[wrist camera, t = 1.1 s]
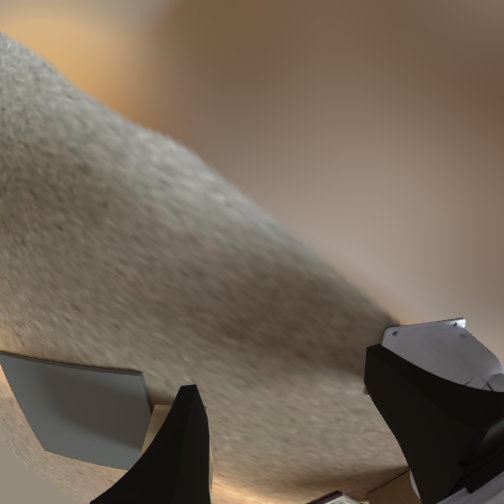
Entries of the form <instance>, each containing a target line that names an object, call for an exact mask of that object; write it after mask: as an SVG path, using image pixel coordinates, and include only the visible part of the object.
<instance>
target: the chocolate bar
mask: <svg viewBox="0 0 504 504" xmlns="http://www.w3.org/2000/svg"><path fill="white" fill-rule="evenodd" d="M309 504H363V503H361V502H359V501H357V500H355V499H353V498H351V497H349V496H347V495H345V494H343V493H342V492H340V491H336V492H334V493H331V494H329V495H327V496H325V497H323V498H320V499H318V500H316V501H314V502H311V503H309Z"/></svg>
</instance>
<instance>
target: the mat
mask: <svg viewBox="0 0 504 504" xmlns="http://www.w3.org/2000/svg"><path fill="white" fill-rule="evenodd" d="M0 364H1V366H2V369H3V371H4V373H5V376H6V378H7V380H8V383H9V385H10V387H11V389H12V391H13V393H14V396H15V398H16V400H17V402H18V404H19V406H20V408H21V410H22V412H23V413H24V415H25V417H26V419H27V421H28V423H29V425H30V426H31V428H32V430H33V432H34V433H35V435H36V437H37V438H38V440H39V442H40V443H41V445H42V447H43V448H44V450H45V451H48V452H51V453H54V454H58V455H61V456H65V457H68V458H72V459H76V460H80V461H84V462H88V463H93V464H97V465H102V466H107V467H112V468H117V469H123V470H130V469H131V468H132V466H133V465H134V464H135V463H136V462H137V461H138V459H139V458H140V454H141V451H142V447H143V444H144V440H145V437H146V433H147V430H148V427H149V423H150V420H151V416H152V410H151V406H150V402H149V398H148V394H147V390H146V386H145V382H144V378H143V373H142V372H135V371H123V370H112V369H103V368H94V367H86V366H79V365H71V364H65V363H58V362H52V361H46V360H40V359H35V358H30V357H24V356H20V355H15V354H10V353H5V352H1V351H0Z"/></svg>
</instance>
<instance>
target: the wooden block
mask: <svg viewBox="0 0 504 504" xmlns="http://www.w3.org/2000/svg"><path fill="white" fill-rule="evenodd" d="M367 498H368V501H369V504H422V503H421V500H420V498H419V497H418V496H417V494H416V493H415V491H414V489H413V487H412V484H411V480H410V470H409V471H407V472H406V473H404V474H402V475H401V476H399V477H397V478H396V479H394V480H392V481H390V482H389V483H387V484H385V485H383V486H381V487H380V488H378V489H376V490H374V491H372V492H370V493H368V494H367Z"/></svg>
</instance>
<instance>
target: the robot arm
mask: <svg viewBox="0 0 504 504" xmlns="http://www.w3.org/2000/svg"><path fill="white" fill-rule="evenodd" d="M454 323H455V324H454ZM465 323H466V320H465V319H464V318H456V319H450V320H443V321H436V322H429V323H422V324H414V325H407V326H398V327H390V328H387V329H386V330H385V332H384V335H383V340H382V345H380V344H377V345H374V346H370V347H367V350H366V364H365V376H364V383H365V385H366V388H367V390H368V392H369V395H370V397H371V399H372V401H373V402H374V404H375V406H376V407H377V409H378V410H379V412H380V414H381V415H382V417H383V418H384V420H385V421H386V423H387V425H388V426H389V428H390V429H391V431H392V433H393V434H394V436H395V438H396V439H397V441H398V443H399V445H400V447H401V449H402V452H403V454H404V456H405V458H406V461H407V463H408V466H409V468H410V480H411V484H412V487H413V489H414V491H415V493H416V494H417V496H418V497H419V498H420V500H421V503H422V504H504V372H503V368H502V365H501V363H500V361H499V359H498V358H497V357H496V356H495V355H494V354H493V353H492V352H491V351H490V350H489V349H488V348H486V347H485V346H484V345H483V344H482V343H481V342H480V341H478V340H477V339H476V338H475V337H474V336H472V334H470V333H469V332H468V331H467V330H466V329H464V327H465ZM395 331H396V333H395V334H393V333H394V332H395ZM209 452H210V435H209V425H208V416H207V413H206V411H205V408H204V405H203V403H202V400H201V397H200V394H199V392H198V389H197V386H196V384H194V385H187V386H181V387H180V389H179V391H178V393H177V396H176V398H175V400H174V402H173V405H172V407H171V409H170V411H169V413H168V415H167V417H166V418H165V420H164V422H163V424H162V426H161V428H160V429H159V431H158V432H157V434H156V436H155V437H154V439H153V441H152V442H151V444H150V445H149V446H148V448H147V449H146V451H145V452H144V453H143V455H142V456H141V457H140V458H139V459H138V461H137V462H136V463H135V464H134V465H133V466H132V468H131V469H130V470H129V471H128V472H127V473H126V474H125V475H124V476H123V477H122V478H121V479H119V480H118V481H117V482H116V483H115V484H114V485H113V486H112V487H111V488H109V489H108V490H107V491H105V492H104V493H103V494H101V495H100V496H98V497H97V498H96V499H94V500H93V501H91V502H90V504H211V499H210V491H209Z"/></svg>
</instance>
